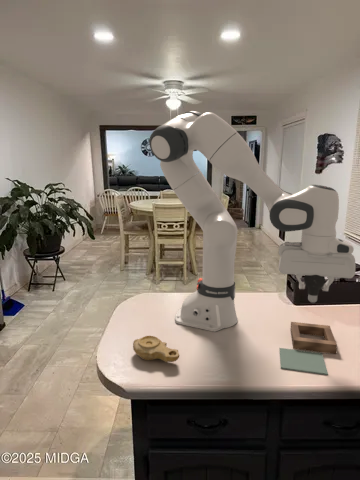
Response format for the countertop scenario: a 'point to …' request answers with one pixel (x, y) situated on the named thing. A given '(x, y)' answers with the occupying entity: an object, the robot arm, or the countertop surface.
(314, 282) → the light bulb
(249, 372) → the countertop surface
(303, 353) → the rubber mat
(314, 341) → the socket block
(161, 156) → the robot arm
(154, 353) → the oil lamp
